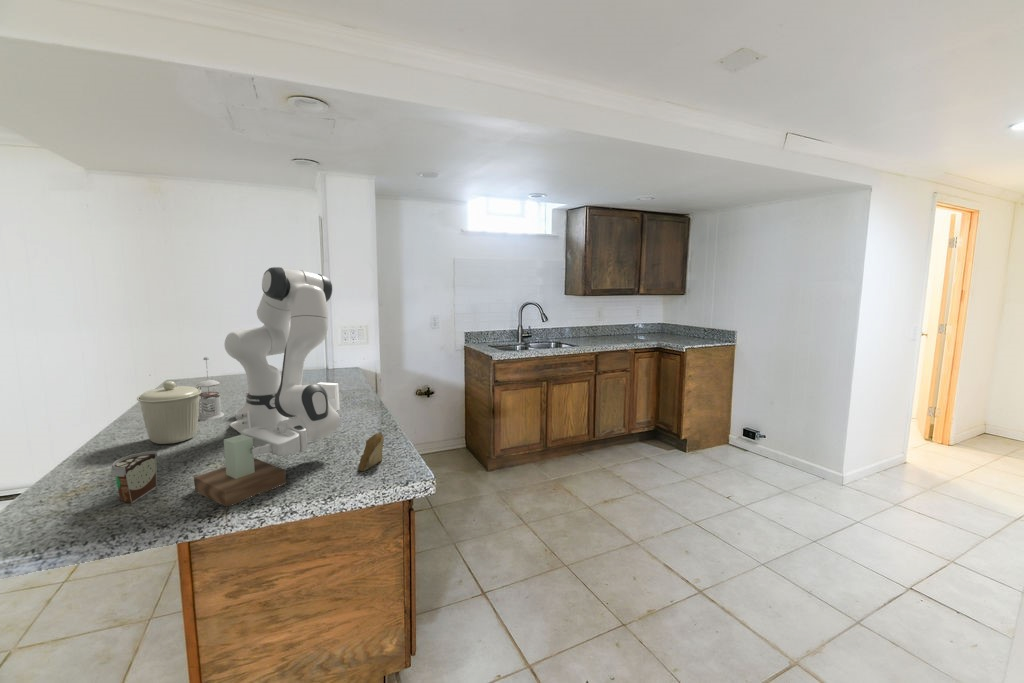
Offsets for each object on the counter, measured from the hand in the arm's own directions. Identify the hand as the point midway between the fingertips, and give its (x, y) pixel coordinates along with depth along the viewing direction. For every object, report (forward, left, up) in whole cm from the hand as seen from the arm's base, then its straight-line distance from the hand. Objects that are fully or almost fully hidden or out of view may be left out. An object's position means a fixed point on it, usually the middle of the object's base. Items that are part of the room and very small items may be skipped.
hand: (241, 448), depth 124 cm
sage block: (0, -1, -7) cm, 7 cm away
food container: (-19, -19, -11) cm, 29 cm away
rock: (+17, +29, -11) cm, 36 cm away
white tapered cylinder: (-43, +59, -11) cm, 74 cm away
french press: (-76, +26, -11) cm, 81 cm away
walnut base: (0, -1, -11) cm, 11 cm away
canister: (-57, +6, -11) cm, 58 cm away
